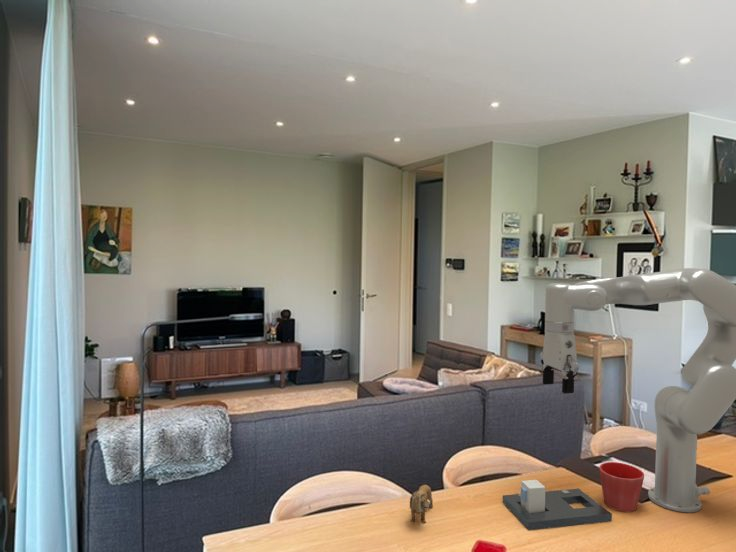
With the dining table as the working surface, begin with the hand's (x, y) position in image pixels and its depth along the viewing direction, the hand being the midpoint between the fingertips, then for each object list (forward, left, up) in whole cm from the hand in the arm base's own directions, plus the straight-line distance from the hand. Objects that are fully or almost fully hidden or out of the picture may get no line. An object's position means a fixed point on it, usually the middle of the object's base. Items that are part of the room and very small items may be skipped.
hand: (557, 388), depth 141 cm
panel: (+6, +9, -30) cm, 32 cm away
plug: (+12, +9, -30) cm, 34 cm away
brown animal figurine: (+41, +5, -31) cm, 51 cm away
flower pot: (-14, +9, -31) cm, 35 cm away
